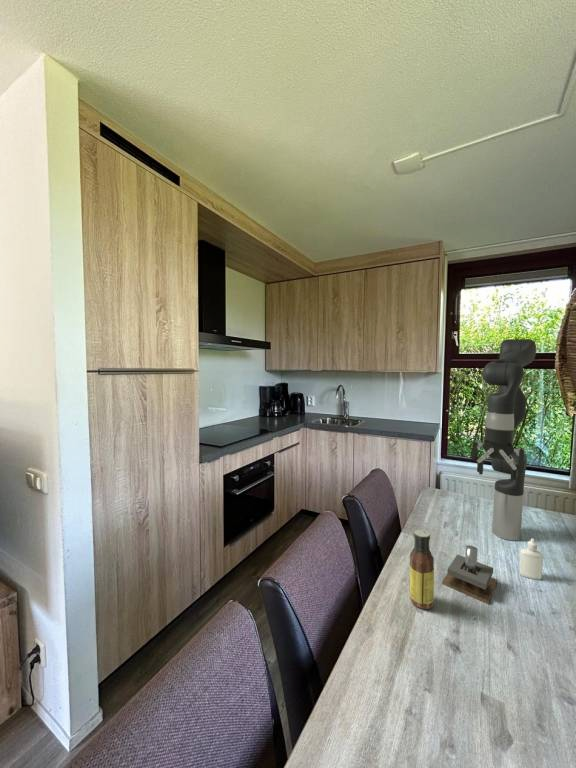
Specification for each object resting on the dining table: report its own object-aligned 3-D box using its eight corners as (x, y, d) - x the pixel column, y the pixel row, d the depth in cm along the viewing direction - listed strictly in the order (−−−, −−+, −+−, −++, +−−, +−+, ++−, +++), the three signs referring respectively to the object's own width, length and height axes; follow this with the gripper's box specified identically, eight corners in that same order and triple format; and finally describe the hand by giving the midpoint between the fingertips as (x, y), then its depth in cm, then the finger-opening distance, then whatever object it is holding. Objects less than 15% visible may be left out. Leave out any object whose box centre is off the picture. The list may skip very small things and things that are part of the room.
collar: (456, 559, 105) (457, 554, 105) (493, 572, 99) (493, 567, 99) (447, 573, 98) (447, 568, 98) (485, 589, 91) (485, 584, 91)
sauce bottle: (432, 597, 93) (435, 529, 91) (434, 613, 87) (438, 541, 85) (407, 591, 95) (410, 525, 93) (408, 607, 89) (411, 536, 87)
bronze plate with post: (454, 565, 107) (455, 533, 106) (496, 582, 99) (499, 547, 98) (442, 583, 98) (444, 548, 97) (488, 604, 90) (490, 566, 89)
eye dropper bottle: (539, 583, 99) (542, 545, 98) (517, 574, 103) (519, 537, 102) (542, 577, 102) (545, 540, 101) (521, 568, 106) (523, 532, 105)
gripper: (528, 428, 101) (525, 479, 102) (476, 422, 110) (473, 469, 112) (525, 432, 95) (521, 486, 96) (470, 425, 105) (468, 474, 106)
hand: (496, 477), depth 104 cm, fingers open, 8 cm apart
